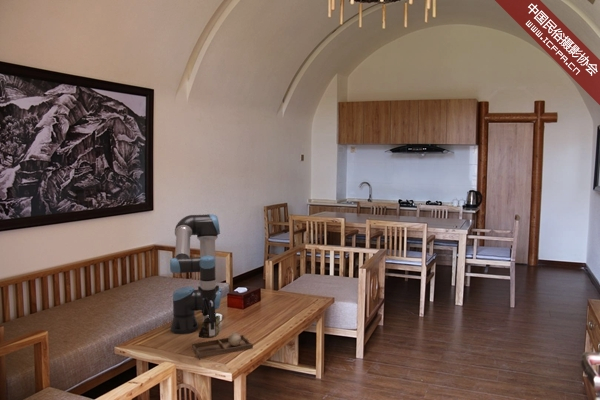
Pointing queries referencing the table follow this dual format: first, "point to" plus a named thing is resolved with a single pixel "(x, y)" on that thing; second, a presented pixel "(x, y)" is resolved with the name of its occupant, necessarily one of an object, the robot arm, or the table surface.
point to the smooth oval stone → (234, 339)
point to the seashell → (205, 328)
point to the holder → (219, 347)
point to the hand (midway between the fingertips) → (208, 331)
